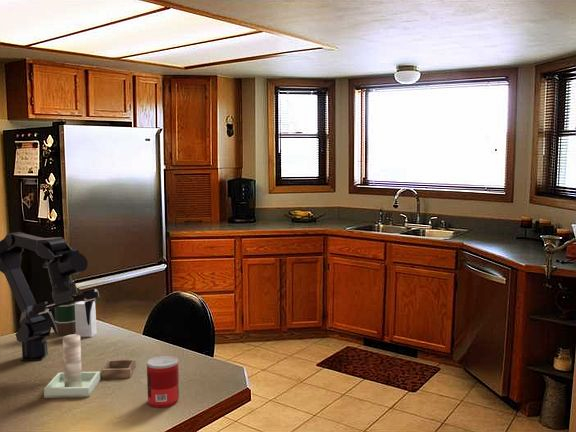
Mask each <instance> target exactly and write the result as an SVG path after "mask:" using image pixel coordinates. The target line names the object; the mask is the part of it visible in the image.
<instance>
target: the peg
mask: <svg viewBox="0 0 576 432" xmlns="http://www.w3.org/2000/svg"><path fill="white" fill-rule="evenodd" d="M81 342H82V341H81V337H80V335H76V333H74V334H70V335H63V337H62V352H63V353H62V354H63V355H62V356H63V358H62V359H63V372H64V384H65V387H82V372H83V371H82V370H83V369H82V349H81V348H82V343H81Z"/></svg>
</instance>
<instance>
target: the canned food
mask: <svg viewBox="0 0 576 432" xmlns="http://www.w3.org/2000/svg"><path fill="white" fill-rule="evenodd" d="M179 374H180V373H179V359H178V358H177V357H175V356H171V355H161V356H156V357H152V358H150V359H148V360H147V361H146V378H147V382H146V383H147V386H146V387H147V402H148V405H149V406H151V407H154V408H167V407H171V406H173V405H175V404H176V403H178V401H179V398H180V393H179V392H180V384H179V380H180V379H179Z"/></svg>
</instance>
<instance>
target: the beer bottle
mask: <svg viewBox="0 0 576 432" xmlns="http://www.w3.org/2000/svg"><path fill="white" fill-rule="evenodd" d="M75 296H77V295H75ZM72 299H73V298H72ZM76 303H78V301H77V302H73V303H69V304H65V305H62V306H58V307H54V308H53V311H54V321H55V324H56V327H57V331H58V334H57V335H59V336H67V335H74V334H76V324H75V304H76ZM60 304H61V303H60Z"/></svg>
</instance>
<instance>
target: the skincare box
mask: <svg viewBox="0 0 576 432" xmlns="http://www.w3.org/2000/svg"><path fill="white" fill-rule="evenodd" d="M84 302H86V300H80V301H77V303H76V304H75V324H76V333H75V334H76V335H80V338H87V337H88V338H92V337H94V336H96V335H97V333H98V331H97V315H96V314H97V312H96V301H94V302H93V304H92V308H91V316H90V325H88V323H87V317H86V309H85V303H84Z"/></svg>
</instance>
